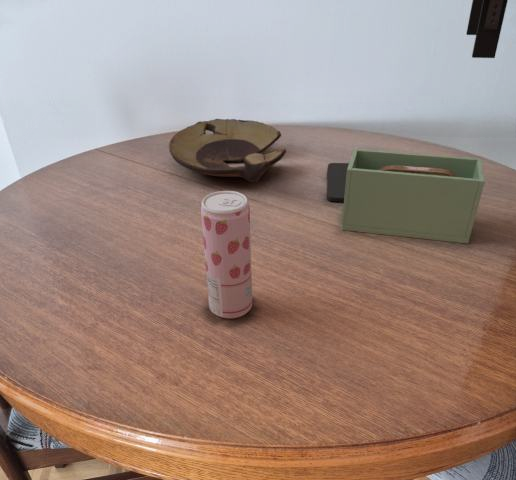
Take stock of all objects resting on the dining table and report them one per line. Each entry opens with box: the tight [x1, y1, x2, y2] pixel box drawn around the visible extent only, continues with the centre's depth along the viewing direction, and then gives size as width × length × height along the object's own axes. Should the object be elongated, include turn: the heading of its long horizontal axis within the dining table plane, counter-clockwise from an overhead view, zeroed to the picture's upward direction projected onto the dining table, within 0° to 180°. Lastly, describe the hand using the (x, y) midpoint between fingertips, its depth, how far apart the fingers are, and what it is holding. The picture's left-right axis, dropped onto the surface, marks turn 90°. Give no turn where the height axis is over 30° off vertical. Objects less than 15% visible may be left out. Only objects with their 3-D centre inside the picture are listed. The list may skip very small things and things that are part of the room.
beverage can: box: [200, 190, 253, 319], centre depth 67 cm, size 6×6×15 cm
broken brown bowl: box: [168, 118, 287, 183], centre depth 102 cm, size 22×30×8 cm
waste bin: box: [341, 148, 486, 245], centre depth 85 cm, size 19×8×10 cm, turn 76°
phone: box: [326, 162, 349, 203], centre depth 99 cm, size 7×1×15 cm
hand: (479, 45), depth 74 cm, fingers open, 13 cm apart
